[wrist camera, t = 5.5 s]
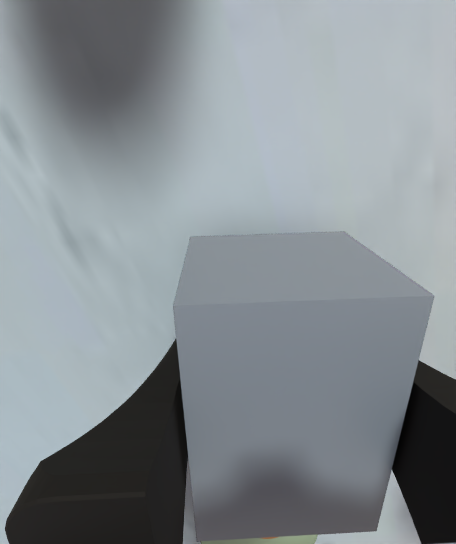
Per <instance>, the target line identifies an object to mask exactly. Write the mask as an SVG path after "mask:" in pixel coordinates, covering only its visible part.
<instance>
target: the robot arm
mask: <svg viewBox="0 0 456 544" xmlns="http://www.w3.org/2000/svg"><path fill="white" fill-rule="evenodd" d="M187 461H188V449H187V439H186V429H185V419H184V409H183V399H182V389H181V379H180V369H179V359H178V350H177V340H176V339H175V341H174V342H173V344H172V346H171V347H170V349H169V350H168V352H167V353H166V355H165V356H164V358H163V359H162V360H161V362H160V363H159V364H158V366H157V367H156V368H155V370H154V371H153V372H152V373H151V374H150V376H149V377H148V378H147V379H146V380H145V382H144V383H143V384H142V385H141V386H140V387H139V388H138V389H137V390H136V392H135V393H134V394H133V395H132V396H131V397H130V398H129V399H128V400H127V401H126V402H124V403H123V404H122V405H121V406H120V407H119V408H118V409H117V410H115V411H114V412H113V413H112V414H111V415H109V416H108V417H107V418H106V419H105V420H103V421H102V422H101V423H99V424H98V425H97V426H95V427H94V428H93V429H91V430H90V431H89V432H87V433H86V434H84V435H83V436H81V437H80V438H78V439H77V440H75V441H74V442H72V443H71V444H69V445H67V446H66V447H64V448H62V449H61V450H59V451H58V452H56V453H54V454H53V455H51V456H49V457H48V458H46V459H44V460H42V461H41V462H40V463H39V465H38V466H37V468H36V469H35V471H34V472H33V474H32V475H31V477H30V479H29V480H28V482H27V484H26V485H25V487H24V489H23V491H22V493H21V494H20V496H19V498H18V500H17V502H16V504H15V505H14V507H13V509H12V511H11V513H10V515H9V517H8V518H7V521H6V526H5V531H6V535H7V539H8V541H9V544H183V525H184V506H185V488H186V472H187ZM392 470H393V473H394V475H395V477H396V480H397V482H398V484H399V487H400V489H401V492H402V494H403V497H404V499H405V502H406V504H407V507H408V509H409V512H410V514H411V517H412V520H413V522H414V525H415V528H416V530H417V533H418V536H419V538H420V541H421V544H456V380H455V379H453V378H451V377H449V376H447V375H445V374H443V373H441V372H439V371H437V370H435V369H434V368H432V367H430V366H428V365H426V364H424V363H423V362H421V361H419V360H418V364H417V369H416V373H415V377H414V381H413V385H412V389H411V393H410V397H409V401H408V405H407V409H406V413H405V417H404V421H403V425H402V429H401V433H400V437H399V441H398V446H397V450H396V454H395V458H394V462H393V466H392Z"/></svg>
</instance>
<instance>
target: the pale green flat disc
mask: <svg viewBox="0 0 456 544" xmlns="http://www.w3.org/2000/svg"><path fill="white" fill-rule="evenodd" d="M316 539H317V535H301V536H284V537H277V538H273V539H262V538H249V539H232V540H215V541H201V544H314V543H315V541H316Z"/></svg>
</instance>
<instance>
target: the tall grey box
mask: <svg viewBox="0 0 456 544" xmlns="http://www.w3.org/2000/svg"><path fill="white" fill-rule="evenodd" d="M433 300H434V295H433V294H432V293H430V292H429V291H427V290H426V289H424V288H423V287H422V286H420V285H419V284H417V283H416V282H415V281H413V280H412V279H410V278H409V277H408V276H406V275H405V274H403V273H402V272H401V271H399V270H398V269H396V268H395V267H393V266H392V265H391V264H389V263H388V262H386V261H385V260H384V259H382V258H381V257H379V256H378V255H377V254H375V253H374V252H372V251H371V250H370V249H368V248H367V247H365V246H364V245H363V244H361V243H360V242H358V241H357V240H355V239H354V238H353V237H351V236H350V235H348V234H347V233H346V232H344V231H343V232H313V233H283V234H254V235H224V236H194V237H190V241H189V245H188V249H187V253H186V257H185V261H184V264H183V268H182V272H181V276H180V280H179V284H178V288H177V292H176V296H175V300H174V304H173V310H174V320H175V330H176V340H177V350H178V359H179V369H180V379H181V389H182V399H183V409H184V419H185V429H186V439H187V449H188V458H189V468H190V478H191V488H192V498H193V508H194V518H195V528H196V538H197V542H198V541H215V540H232V539H249V538H267V537H284V536H301V535H318V534H336V533H353V532H370V531H377V527H378V523H379V518H380V514H381V510H382V506H383V502H384V498H385V494H386V490H387V486H388V482H389V478H390V474H391V470H392V466H393V462H394V458H395V454H396V450H397V446H398V441H399V437H400V433H401V429H402V425H403V421H404V417H405V413H406V409H407V405H408V401H409V397H410V393H411V389H412V385H413V381H414V377H415V373H416V369H417V364H418V360H419V356H420V352H421V348H422V344H423V340H424V336H425V332H426V328H427V324H428V320H429V316H430V312H431V308H432V304H433Z"/></svg>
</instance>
